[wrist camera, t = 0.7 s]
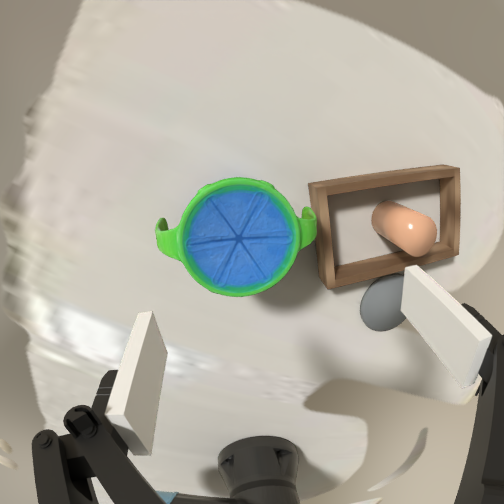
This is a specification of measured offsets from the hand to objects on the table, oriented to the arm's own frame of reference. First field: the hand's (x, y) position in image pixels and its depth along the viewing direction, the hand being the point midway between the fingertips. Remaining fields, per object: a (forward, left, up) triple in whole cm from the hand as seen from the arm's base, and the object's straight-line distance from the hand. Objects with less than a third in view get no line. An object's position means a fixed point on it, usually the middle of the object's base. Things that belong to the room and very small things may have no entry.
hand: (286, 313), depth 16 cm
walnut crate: (-4, -17, -22) cm, 29 cm away
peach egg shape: (-4, -17, -22) cm, 29 cm away
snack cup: (0, +2, -23) cm, 23 cm away
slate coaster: (-16, -17, -22) cm, 33 cm away
